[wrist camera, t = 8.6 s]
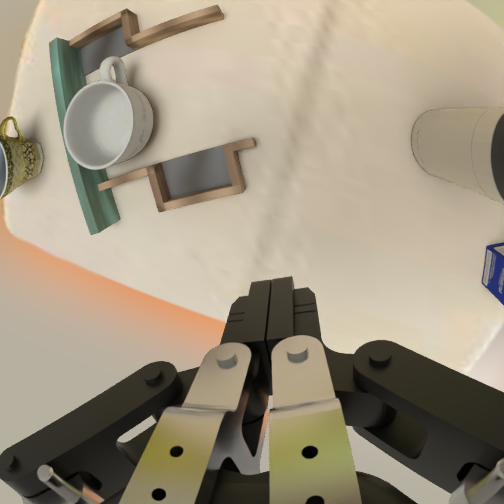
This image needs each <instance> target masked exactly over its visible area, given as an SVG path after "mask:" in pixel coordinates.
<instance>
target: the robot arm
mask: <svg viewBox="0 0 504 504" xmlns="http://www.w3.org/2000/svg"><path fill="white" fill-rule="evenodd" d="M411 141H412V149H413V153H414V156H415V158H416V160H417V162H418V163H419V165H420V166H421V167H422V168H423V169H424V170H425V171H426V172H428V173H429V174H431V175H434V176H437V177H439V178H442V179H444V180H447V181H449V182H452V183H455V184H457V185H460V186H462V187H465V188H467V189H469V190H472V191H474V192H477V193H479V194H481V195H484V196H486V197H488V198H490V199H493V200H495V201H497V202H500V203H502V204H504V107H477V108H455V109H439V110H431V111H428V112H426V113H424V114H422V115H421V116H420V117H419V118H418V119H417V121H416V123H415V125H414V127H413V130H412V137H411ZM269 395H273V409H270V411H269V412H268V408H267V406H268V397H269ZM151 415H152V416H153V418H154V419H155V420H156V422H157V423H155V424H154V425H152V426H151V427H149V428H148V429H147V430H145V431H143V432H142V433H140V434H139V435H138V436H136V437H134V438H133V439H131V440H130V441H128V442H125V443H120V442H118V441H117V439H118V438H119V437H120V436H121V435H123V434H124V433H126V432H127V431H129V430H130V429H132V428H133V427H135V426H136V425H138V424H139V423H141V422H142V421H144V420H145V419H147V418H148V417H150V416H151ZM268 417H269V456H270V457H269V460H270V461H269V462H270V471H267V472H263V473H260V458H261V453H262V448H263V443H264V438H265V433H266V428H267V422H268ZM346 425H347V426H352V427H353V429H354V430H355V432H357V433H358V434H359V435H360V436H362V437H363V438H365V439H366V440H368V441H369V442H370V443H372V444H374V445H375V446H376V447H378V448H379V449H381V450H382V451H384V452H385V453H386V454H388V455H389V456H391V457H392V458H394V459H395V460H397V461H399V462H400V463H402V464H403V465H405V466H406V467H408V468H409V469H411V470H413V471H414V472H416V473H417V474H419V475H420V476H422V477H424V478H426V479H427V480H429V481H430V482H432V483H434V484H435V485H437V486H439V487H440V488H442V489H444V490H446V491H447V492H449V493H451V497H450V500H449V504H504V392H502V391H499V390H497V389H495V388H492V387H490V386H488V385H486V384H483V383H481V382H479V381H477V380H475V379H472V378H470V377H468V376H466V375H464V374H461V373H459V372H457V371H455V370H453V369H450V368H448V367H446V366H444V365H442V364H440V363H437V362H435V361H433V360H431V359H429V358H427V357H424V356H422V355H420V354H418V353H416V352H414V351H412V350H409V349H407V348H405V347H403V346H401V345H399V344H397V343H394V342H392V341H387V340H376V341H371V342H368V343H366V344H364V345H362V346H361V347H359V348H358V349H357V351H356V352H355V354H344V353H338V352H335V351H332V350H330V349H329V348H327V347H326V346H325V345H324V343H323V342H322V339H321V332H320V325H319V318H318V311H317V305H316V298H315V294H314V293H313V292H312V291H311V290H310V289H309V288H308V287H307V288H300V289H294V283H293V278H292V276H291V277H284V278H277V279H272V280H264V281H257V282H252V283H251V286H250V291H249V296H243V297H239V298H238V299H237V300H236V301H235V302H234V303H233V304H232V306H231V309H230V312H229V316H228V319H227V323H226V326H225V329H224V332H223V336H222V339H221V343H220V345H219V346H217V347H215V348H213V349H212V350H210V351H209V352H208V353H207V354H206V355H205V357H204V359H203V361H202V363H201V366H199V367H197V368H193V369H190V370H186V371H182V372H177V370H176V368H175V366H174V365H173V364H171V363H169V362H165V361H158V362H153V363H150V364H148V365H146V366H144V367H142V368H141V369H139V370H138V371H136V372H135V373H133V374H132V375H130V376H128V377H127V378H125V379H123V380H122V381H120V382H119V383H117V384H116V385H114V386H113V387H111V388H109V389H108V390H106V391H104V392H103V393H101V394H99V395H98V396H96V397H95V398H93V399H91V400H90V401H88V402H87V403H85V404H83V405H81V406H80V407H78V408H77V409H75V410H74V411H72V412H70V413H68V414H66V415H65V416H63V417H61V418H60V419H58V420H56V421H55V422H53V423H51V424H50V425H48V426H46V427H44V428H43V429H41V430H39V431H37V432H36V433H34V434H32V435H31V436H29V437H27V438H25V439H24V440H22V441H20V442H18V443H16V444H15V445H13V446H11V447H9V448H7V449H6V450H5V451H3V453H2V454H1V455H0V479H2V480H3V481H4V482H5V483H6V484H8V485H9V486H10V487H12V488H13V489H14V490H15V491H17V492H18V494H19V495H20V496H21V497H22V499H23V503H24V504H417V503H416V502H415V501H413V500H411V499H410V498H409V497H408V496H406V495H404V494H403V493H402V492H401V491H399V490H398V489H397V488H395V487H394V486H392V485H391V484H389V483H388V482H386V481H384V480H382V479H380V478H378V477H375V476H373V475H370V474H366V473H363V472H358V471H355V466H354V461H353V457H352V453H351V448H350V443H349V438H348V434H347V430H346Z"/></svg>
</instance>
